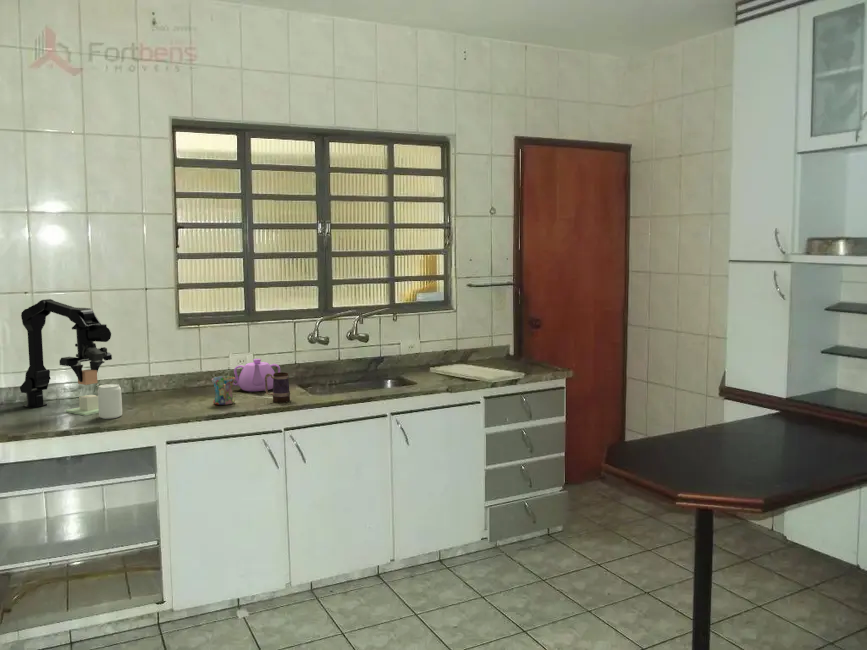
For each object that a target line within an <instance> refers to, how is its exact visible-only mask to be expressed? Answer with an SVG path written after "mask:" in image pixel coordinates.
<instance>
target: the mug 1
mask: <svg viewBox="0 0 867 650" xmlns="http://www.w3.org/2000/svg"><path fill="white" fill-rule="evenodd" d="M235 379H236V378H235V377H234V376H230V375H228V376H227V375H223V376H222V375H220V376H215V377H212V378H211V382H212V384H213V386H214V392H215V393H214V399H213V404H215V405H216V406H217V405H218V406H227V405H231V404H234V403H235V401H236V400H235V399H234V395H233V387H234V385H233V383H234V382H235V381H234V380H235Z"/></svg>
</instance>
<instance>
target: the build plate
mask: <svg viewBox="0 0 867 650" xmlns="http://www.w3.org/2000/svg"><path fill="white" fill-rule="evenodd" d="M65 412H66V413H69V414H75V415H79V416H85V417H86V416H90V415H95V414H99V409H94V410H90V411H85V410H80V406H78V407H75V408H70V409H66V410H65Z"/></svg>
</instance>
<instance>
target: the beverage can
mask: <svg viewBox="0 0 867 650" xmlns="http://www.w3.org/2000/svg"><path fill="white" fill-rule="evenodd" d="M97 396H98V407H99V413H98V417H99V418H100V419H104V420H109V419H111V420H112V419H116V418H117V419H118V418H120V417H121V416H122V415H123V402H122V401H123V400H122V388H121V386H120V384H119V383H108V384H106V383H105V384H101V385H98V388H97Z"/></svg>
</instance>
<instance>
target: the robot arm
mask: <svg viewBox="0 0 867 650" xmlns="http://www.w3.org/2000/svg"><path fill="white" fill-rule="evenodd" d="M51 313H53V314H56V315H60V316H63V317H65V318H68V319H69V321H71V322H72V323H74V325H73V326H72V327H71V330H75V331H76V343H75V344H74V345H75V347H76V348H77V353H76V354H75V356H64V357H61V358H60V359H59V366H64V367H70V368H71V369H72V371H73V372H74V374H75V375H76V377H77V380H78V379H79V381H80V382H82V380H83V377H82V370H83V367H84V364H82V362H83V363H85V362H89V369H91V370H97V373H98V372H99V369H100V367H101V366H102V364H104V363H106V362H105V361H111V360H113V355H112V353H110V352H108V348H107V347H102V346H101V347H99V348H97V345H96V342H97V343H101V342H103V343H107V342H109V341H110V340H111V337H112V332H111V329H110V328H108V325H107V324H106V323H101V321H100V320H99V319H98V317H97V316H96V313H95V312H94V310H93V309H92V308H90V307H74V306H72V305H69V304H65V303H62V302H59V301H55V300H54V299H51V298H47V299H42V300H39V301H38V302H37V303H35V304H33V305H31V306H29V307H28V308H24V309H23V311H22V312H21V315H20V318H21V322H22V325H23V327H24V329H25V330H26V331H27V346H28V347H27V348H28V349H27V350H28V360H29V361H28V364H29V367H28V369H27V370H26V372H25V378H24V381H23V383H22V384H21V385H20V386H19V391H20V393H22V394H23V393H24V394H25V395H26V397H25V398H26V404H23V406H22V407H23V408H24V407H25V408H30V409H35V408H39V407H45V406H47V405H48V404H47V403H44V394H43V391H46V390H48V387H49V384H50V381H51V380H52V379H51V374H50V373H51V371H50V369H47V368H46V366H45V365H44V351H43V350H44V349H43V347H44V346H43V329H44V326H45V325H46V318H47V316H49V315H50V314H51ZM94 342H95V343H94Z"/></svg>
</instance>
